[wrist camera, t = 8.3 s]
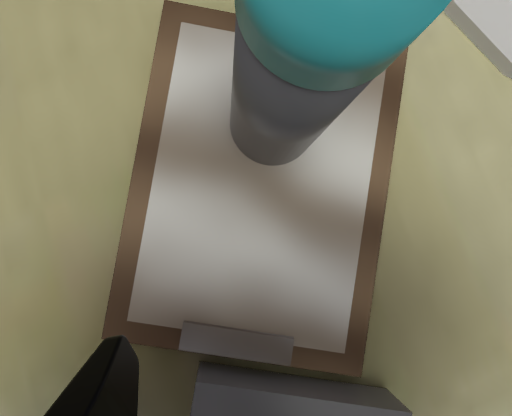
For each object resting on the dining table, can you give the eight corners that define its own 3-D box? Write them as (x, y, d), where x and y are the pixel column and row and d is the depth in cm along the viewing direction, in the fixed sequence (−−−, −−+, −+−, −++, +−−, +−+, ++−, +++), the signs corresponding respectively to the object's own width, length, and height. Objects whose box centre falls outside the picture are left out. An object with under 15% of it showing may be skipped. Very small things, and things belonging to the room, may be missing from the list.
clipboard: (357, 373, 22) (366, 382, 20) (105, 336, 21) (97, 342, 20) (403, 52, 23) (414, 41, 21) (166, 6, 22) (162, -9, 21)
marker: (282, 184, 21) (387, 91, 8) (211, 132, 21) (189, -53, 8) (332, 114, 21) (515, -91, 8) (262, 63, 21) (327, -230, 8)
